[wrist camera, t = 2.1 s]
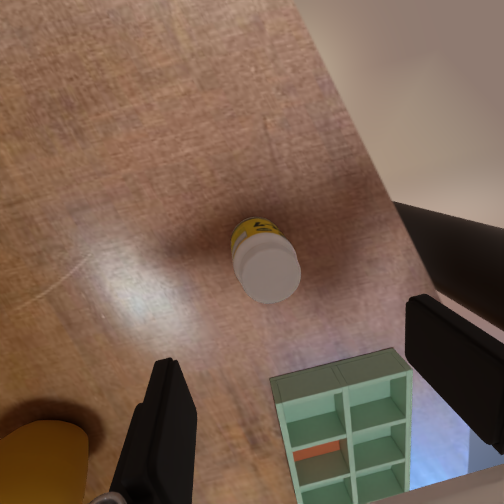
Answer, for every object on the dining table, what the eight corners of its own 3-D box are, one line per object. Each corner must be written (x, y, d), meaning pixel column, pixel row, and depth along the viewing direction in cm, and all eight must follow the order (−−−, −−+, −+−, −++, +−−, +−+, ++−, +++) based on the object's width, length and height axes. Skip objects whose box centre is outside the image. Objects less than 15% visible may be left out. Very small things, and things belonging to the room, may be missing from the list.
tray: (392, 347, 32) (412, 369, 28) (393, 466, 39) (409, 494, 36) (269, 378, 31) (275, 404, 28) (295, 493, 39) (302, 524, 35)
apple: (94, 387, 28) (2, 556, 16) (121, 454, 32) (62, 633, 20) (-16, 405, 28) (-197, 597, 16) (25, 472, 31) (-96, 670, 19)
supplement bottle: (289, 231, 25) (321, 264, 17) (263, 271, 26) (283, 320, 18) (245, 206, 24) (259, 229, 16) (220, 249, 25) (221, 292, 17)
